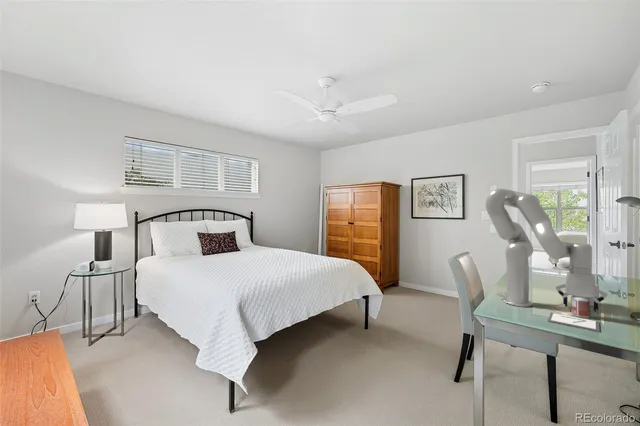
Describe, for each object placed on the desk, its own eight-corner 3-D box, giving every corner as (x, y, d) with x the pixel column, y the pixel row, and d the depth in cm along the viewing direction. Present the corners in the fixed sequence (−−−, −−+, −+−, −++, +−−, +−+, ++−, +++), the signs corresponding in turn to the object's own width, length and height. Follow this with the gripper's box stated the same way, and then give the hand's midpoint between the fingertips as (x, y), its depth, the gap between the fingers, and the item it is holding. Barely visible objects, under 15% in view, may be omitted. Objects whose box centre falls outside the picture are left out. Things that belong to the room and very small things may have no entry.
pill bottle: (591, 316, 130) (591, 291, 130) (587, 319, 127) (587, 294, 127) (573, 312, 136) (573, 288, 135) (569, 315, 132) (569, 290, 132)
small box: (598, 307, 143) (599, 286, 143) (583, 305, 146) (584, 284, 145) (594, 302, 149) (594, 282, 149) (580, 301, 152) (580, 281, 152)
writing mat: (547, 321, 125) (547, 319, 125) (550, 313, 134) (550, 311, 134) (599, 332, 114) (599, 330, 114) (598, 322, 123) (598, 320, 123)
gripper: (555, 269, 134) (554, 306, 134) (607, 275, 122) (607, 315, 123) (556, 266, 140) (556, 302, 140) (607, 272, 128) (606, 310, 128)
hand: (580, 308), depth 131 cm, fingers open, 9 cm apart
